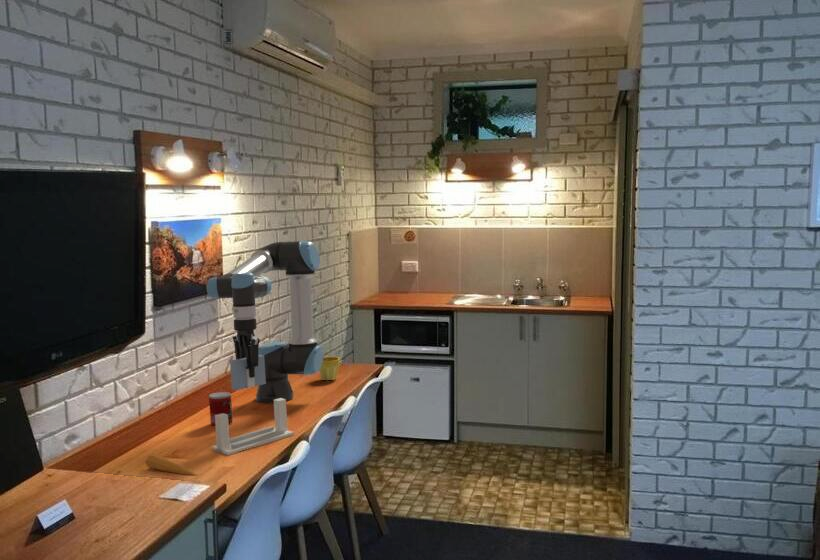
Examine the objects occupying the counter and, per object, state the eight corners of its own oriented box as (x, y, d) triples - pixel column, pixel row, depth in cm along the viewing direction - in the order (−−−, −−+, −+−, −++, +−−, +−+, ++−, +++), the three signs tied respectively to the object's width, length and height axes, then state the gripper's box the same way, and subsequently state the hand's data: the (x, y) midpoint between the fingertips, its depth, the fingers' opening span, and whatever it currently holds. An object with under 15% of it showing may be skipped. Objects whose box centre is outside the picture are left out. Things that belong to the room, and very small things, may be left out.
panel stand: (276, 429, 256) (274, 396, 255) (293, 434, 249) (291, 400, 248) (211, 449, 237) (209, 413, 236) (228, 455, 230) (225, 418, 229)
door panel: (261, 382, 253) (260, 354, 252) (265, 383, 251) (264, 355, 251) (231, 389, 245) (229, 360, 244) (235, 390, 243) (233, 361, 242)
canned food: (227, 427, 261) (225, 397, 260) (206, 426, 263) (204, 397, 262) (236, 420, 269) (234, 391, 268) (216, 420, 271) (214, 391, 269)
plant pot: (341, 376, 334) (340, 355, 333) (340, 381, 324) (339, 360, 323) (318, 377, 333) (317, 356, 332) (317, 383, 323) (315, 361, 322)
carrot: (145, 470, 221) (141, 458, 219) (155, 460, 224) (152, 449, 222) (195, 487, 213) (192, 475, 210) (205, 477, 216) (202, 465, 214)
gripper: (223, 318, 249) (226, 385, 251) (247, 321, 238) (251, 391, 240) (242, 315, 254) (245, 381, 256) (267, 318, 243) (270, 387, 245)
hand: (248, 385), depth 248 cm, fingers closed on door panel, 2 cm apart
